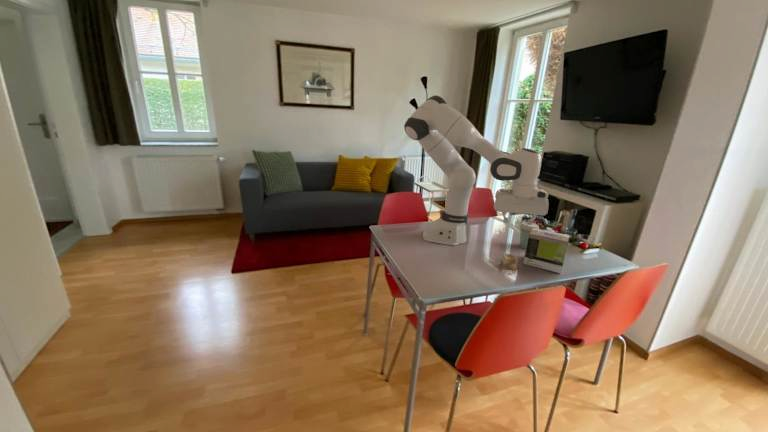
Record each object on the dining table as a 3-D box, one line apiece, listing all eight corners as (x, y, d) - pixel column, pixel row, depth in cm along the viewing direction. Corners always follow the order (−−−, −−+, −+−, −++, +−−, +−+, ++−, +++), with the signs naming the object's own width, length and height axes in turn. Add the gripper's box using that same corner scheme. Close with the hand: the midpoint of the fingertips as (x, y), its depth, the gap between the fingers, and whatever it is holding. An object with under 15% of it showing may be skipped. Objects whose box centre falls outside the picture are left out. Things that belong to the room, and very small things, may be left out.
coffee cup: (520, 242, 165) (525, 220, 161) (537, 247, 159) (542, 225, 155) (513, 246, 159) (518, 223, 155) (530, 252, 153) (536, 228, 149)
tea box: (562, 265, 141) (570, 234, 136) (560, 274, 133) (568, 242, 128) (526, 256, 149) (532, 226, 144) (522, 264, 140) (529, 233, 136)
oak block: (503, 269, 135) (505, 258, 133) (501, 263, 140) (503, 253, 138) (515, 270, 134) (517, 260, 133) (512, 265, 139) (514, 254, 137)
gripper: (497, 190, 125) (492, 223, 129) (553, 194, 122) (545, 228, 127) (495, 186, 131) (490, 218, 135) (547, 190, 128) (540, 222, 132)
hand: (517, 223), depth 131 cm, fingers open, 8 cm apart
